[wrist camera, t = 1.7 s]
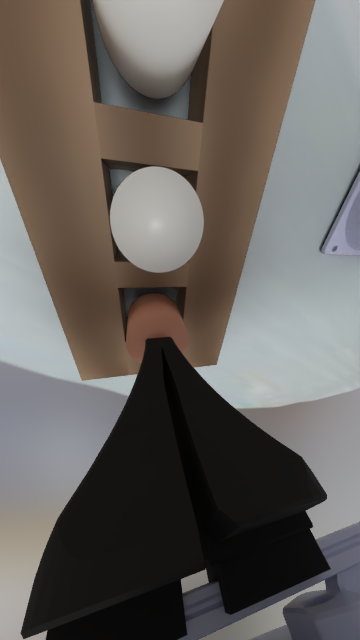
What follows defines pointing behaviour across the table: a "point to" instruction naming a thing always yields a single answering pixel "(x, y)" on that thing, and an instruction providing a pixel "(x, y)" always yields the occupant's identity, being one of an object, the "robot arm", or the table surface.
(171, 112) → the table surface
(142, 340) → the terracotta plug
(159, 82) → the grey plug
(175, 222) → the grey plug middle
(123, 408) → the robot arm
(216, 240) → the walnut board
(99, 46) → the table surface
